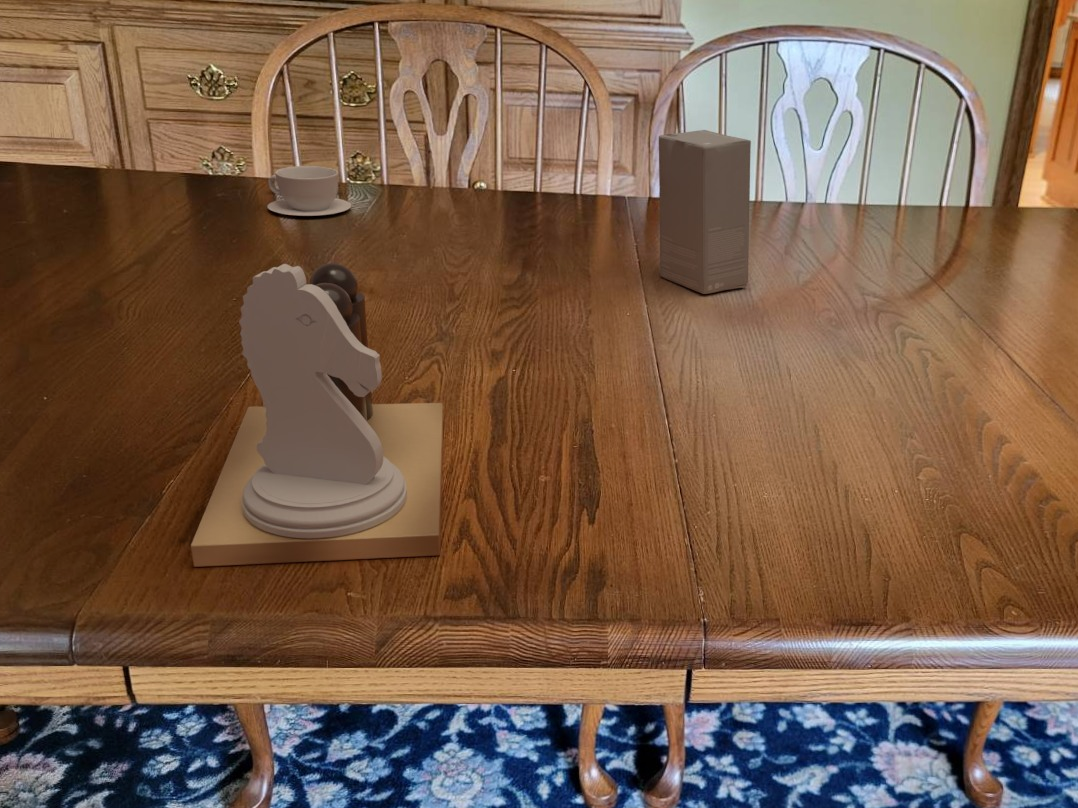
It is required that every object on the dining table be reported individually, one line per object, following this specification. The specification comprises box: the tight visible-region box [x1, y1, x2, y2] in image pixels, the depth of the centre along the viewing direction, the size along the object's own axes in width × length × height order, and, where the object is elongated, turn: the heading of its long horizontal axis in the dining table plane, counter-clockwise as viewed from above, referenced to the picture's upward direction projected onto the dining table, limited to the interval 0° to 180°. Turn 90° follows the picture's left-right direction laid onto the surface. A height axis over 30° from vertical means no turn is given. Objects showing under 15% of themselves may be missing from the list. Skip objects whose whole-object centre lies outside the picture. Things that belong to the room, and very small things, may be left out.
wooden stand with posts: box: [190, 262, 444, 568], centre depth 71 cm, size 14×20×13 cm
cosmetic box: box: [658, 129, 752, 295], centre depth 117 cm, size 8×7×16 cm
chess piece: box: [238, 263, 407, 539], centre depth 66 cm, size 10×10×15 cm
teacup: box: [267, 165, 352, 217], centre depth 137 cm, size 10×10×5 cm
